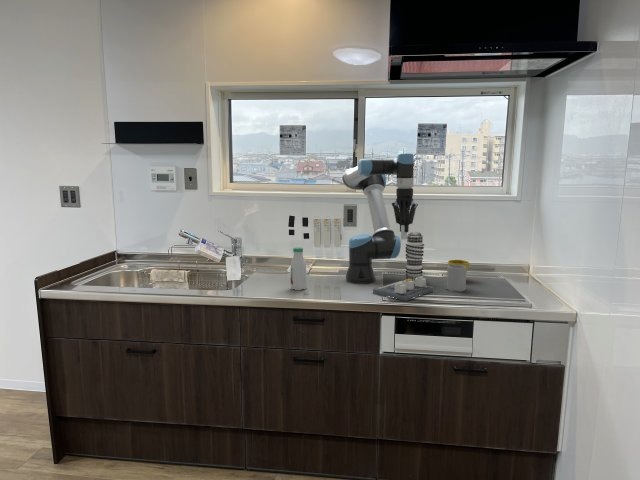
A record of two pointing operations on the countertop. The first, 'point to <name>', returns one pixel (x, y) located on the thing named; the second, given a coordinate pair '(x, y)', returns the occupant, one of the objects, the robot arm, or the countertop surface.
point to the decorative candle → (414, 255)
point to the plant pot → (459, 263)
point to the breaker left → (400, 288)
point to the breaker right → (420, 281)
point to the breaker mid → (409, 284)
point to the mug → (456, 278)
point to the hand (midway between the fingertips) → (404, 239)
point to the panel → (390, 291)
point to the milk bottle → (298, 270)
